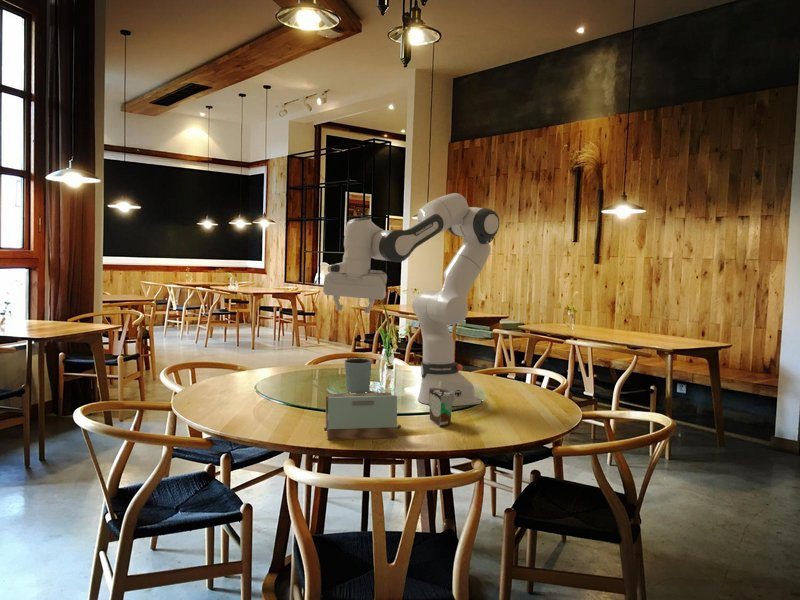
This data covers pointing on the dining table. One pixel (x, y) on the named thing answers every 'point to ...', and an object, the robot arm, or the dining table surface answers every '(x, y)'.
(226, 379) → the dining table surface
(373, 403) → the panel
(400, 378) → the dining table surface
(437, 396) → the food container
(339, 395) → the brown open box
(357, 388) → the gray cup
